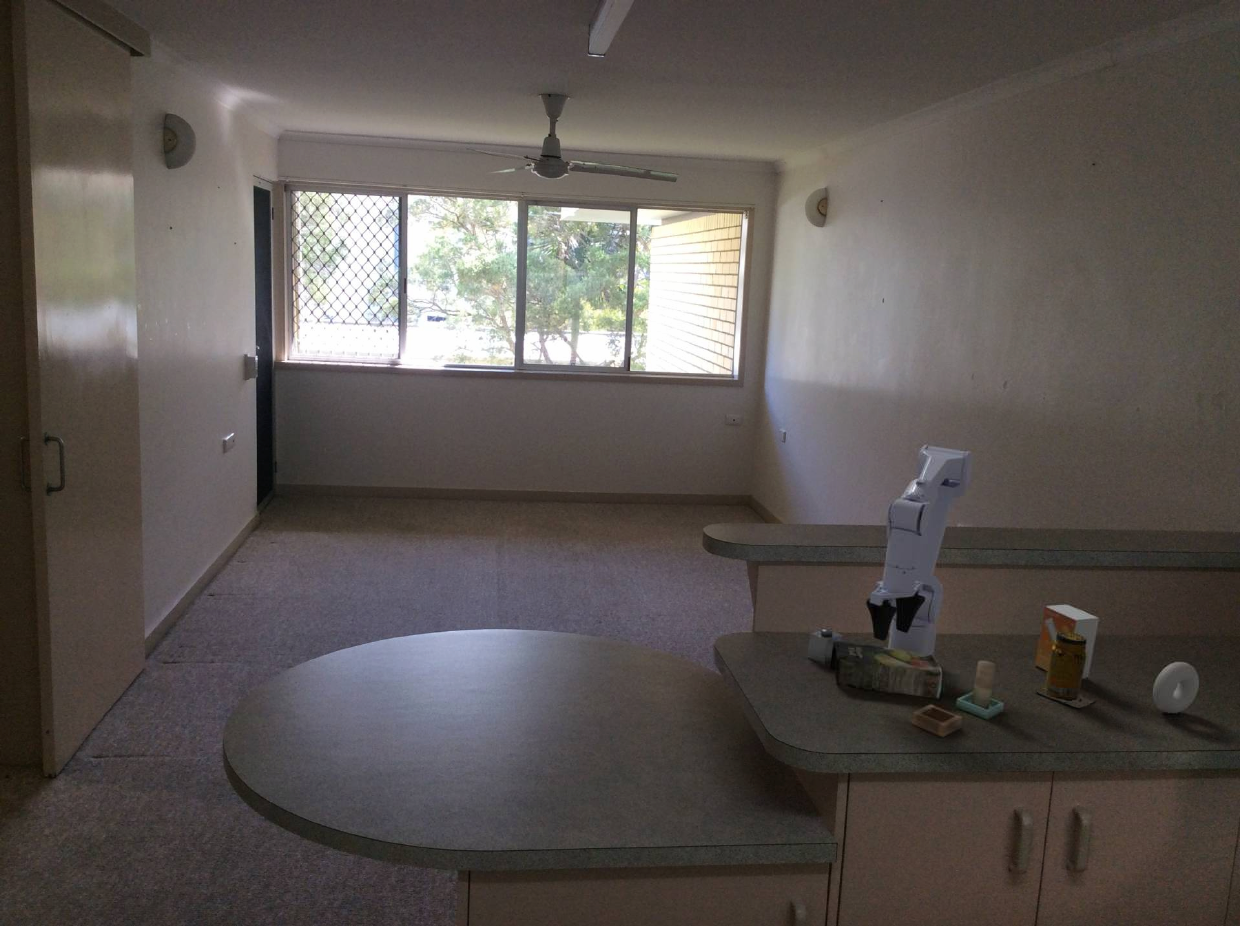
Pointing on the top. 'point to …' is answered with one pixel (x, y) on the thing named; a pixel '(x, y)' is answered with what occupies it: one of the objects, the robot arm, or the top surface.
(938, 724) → the socket
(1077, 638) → the condiment
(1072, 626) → the small box
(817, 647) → the stop block
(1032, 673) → the top surface
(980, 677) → the dowel
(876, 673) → the juice carton
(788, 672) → the top surface
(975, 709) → the tray
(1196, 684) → the grey round disc
